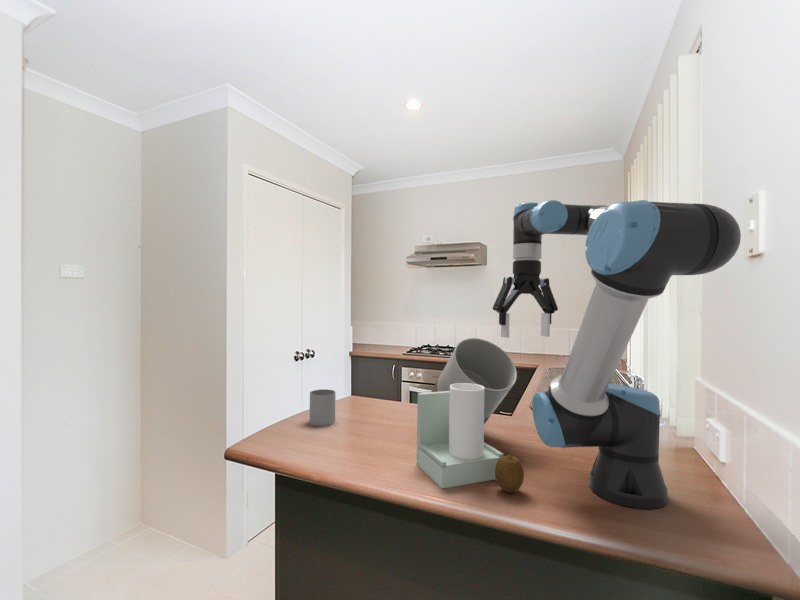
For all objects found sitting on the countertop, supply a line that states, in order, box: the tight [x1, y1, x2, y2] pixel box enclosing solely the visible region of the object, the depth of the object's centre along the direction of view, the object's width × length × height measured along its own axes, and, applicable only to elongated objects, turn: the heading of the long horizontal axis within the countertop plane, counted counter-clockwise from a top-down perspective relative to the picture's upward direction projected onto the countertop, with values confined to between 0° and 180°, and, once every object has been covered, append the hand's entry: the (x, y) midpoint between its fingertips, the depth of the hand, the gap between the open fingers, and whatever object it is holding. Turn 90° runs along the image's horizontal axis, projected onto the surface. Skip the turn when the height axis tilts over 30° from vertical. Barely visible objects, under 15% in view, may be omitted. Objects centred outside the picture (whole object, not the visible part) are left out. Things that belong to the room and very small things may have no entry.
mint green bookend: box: [416, 391, 504, 489], centre depth 101 cm, size 14×16×18 cm
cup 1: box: [309, 388, 337, 427], centre depth 138 cm, size 8×8×10 cm
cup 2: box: [449, 383, 485, 460], centre depth 99 cm, size 8×8×16 cm
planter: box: [430, 337, 518, 425], centre depth 124 cm, size 19×19×26 cm
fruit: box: [495, 454, 525, 493], centre depth 90 cm, size 6×6×8 cm
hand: (525, 336), depth 115 cm, fingers open, 13 cm apart
